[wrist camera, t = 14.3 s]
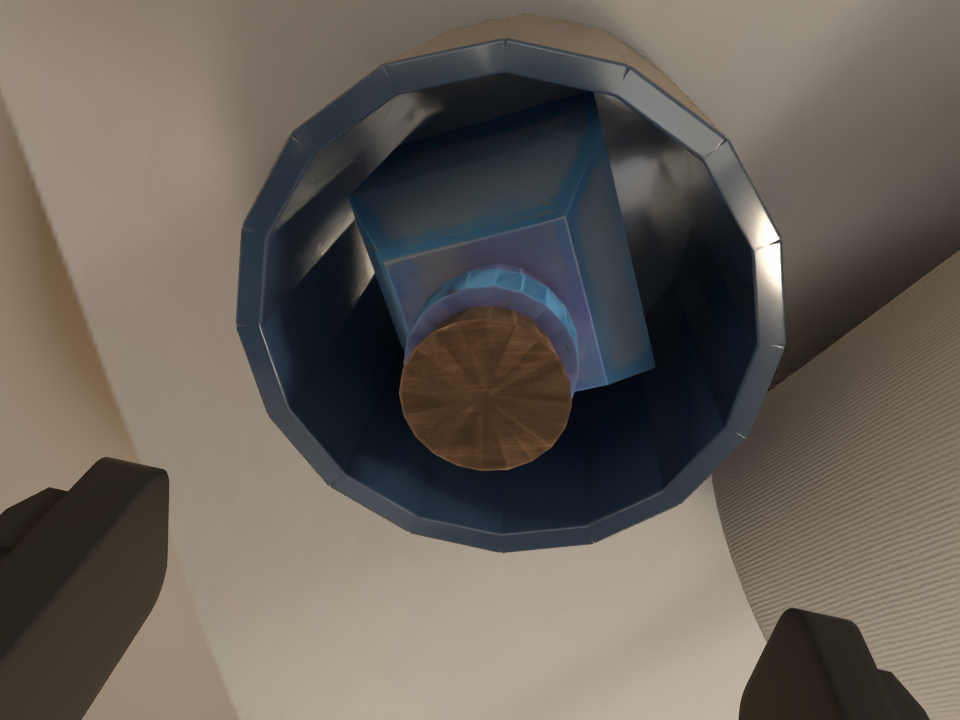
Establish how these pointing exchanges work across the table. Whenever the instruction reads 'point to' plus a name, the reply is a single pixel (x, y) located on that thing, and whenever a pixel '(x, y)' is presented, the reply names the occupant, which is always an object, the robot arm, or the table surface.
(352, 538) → the table surface
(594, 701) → the table surface
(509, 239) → the perfume bottle
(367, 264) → the holder
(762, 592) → the light fixture
